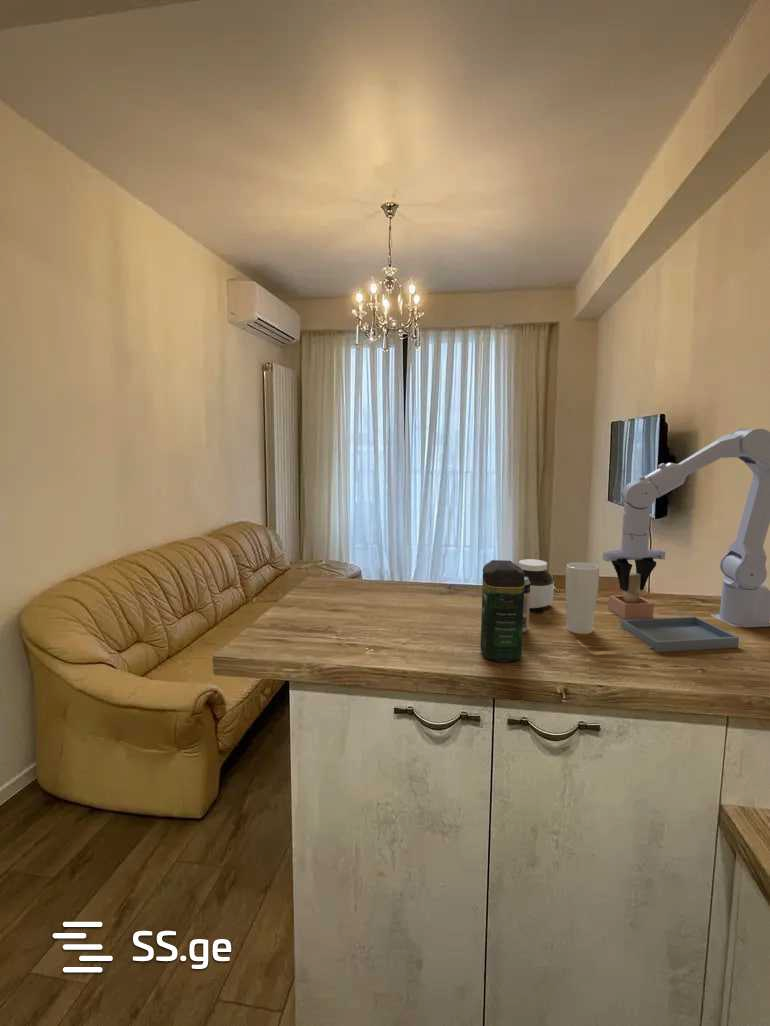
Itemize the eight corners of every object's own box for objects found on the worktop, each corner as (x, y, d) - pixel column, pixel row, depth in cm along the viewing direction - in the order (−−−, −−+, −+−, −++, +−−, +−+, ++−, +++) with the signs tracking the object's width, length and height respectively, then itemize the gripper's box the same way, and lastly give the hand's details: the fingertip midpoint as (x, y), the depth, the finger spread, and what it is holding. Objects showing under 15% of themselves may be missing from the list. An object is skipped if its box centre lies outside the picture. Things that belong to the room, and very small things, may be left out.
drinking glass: (598, 638, 117) (602, 570, 115) (565, 636, 118) (568, 568, 116) (592, 627, 124) (596, 562, 121) (561, 625, 125) (564, 561, 123)
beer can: (530, 628, 123) (532, 576, 122) (526, 635, 119) (528, 581, 117) (509, 624, 125) (510, 573, 124) (504, 631, 121) (506, 579, 119)
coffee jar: (525, 664, 104) (529, 569, 102) (483, 663, 105) (485, 568, 102) (516, 644, 114) (519, 557, 111) (478, 643, 115) (480, 556, 112)
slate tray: (694, 625, 125) (695, 616, 125) (738, 647, 112) (739, 637, 112) (620, 628, 123) (621, 619, 122) (656, 652, 110) (656, 642, 110)
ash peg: (633, 604, 133) (635, 572, 132) (641, 608, 130) (644, 576, 128) (619, 604, 133) (621, 572, 131) (627, 609, 129) (630, 576, 128)
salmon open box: (635, 610, 135) (636, 594, 135) (652, 619, 128) (653, 603, 128) (608, 611, 134) (609, 595, 134) (624, 621, 127) (625, 604, 127)
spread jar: (556, 608, 137) (559, 562, 135) (536, 620, 129) (538, 571, 127) (513, 598, 145) (515, 555, 143) (491, 609, 137) (492, 563, 135)
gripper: (653, 529, 133) (650, 583, 135) (597, 530, 131) (594, 585, 133) (672, 534, 126) (668, 591, 128) (613, 536, 124) (609, 594, 126)
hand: (631, 589), depth 130 cm, fingers closed on ash peg, 3 cm apart
